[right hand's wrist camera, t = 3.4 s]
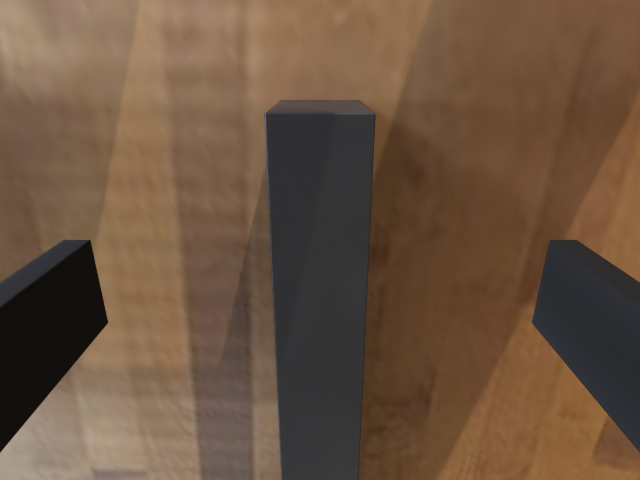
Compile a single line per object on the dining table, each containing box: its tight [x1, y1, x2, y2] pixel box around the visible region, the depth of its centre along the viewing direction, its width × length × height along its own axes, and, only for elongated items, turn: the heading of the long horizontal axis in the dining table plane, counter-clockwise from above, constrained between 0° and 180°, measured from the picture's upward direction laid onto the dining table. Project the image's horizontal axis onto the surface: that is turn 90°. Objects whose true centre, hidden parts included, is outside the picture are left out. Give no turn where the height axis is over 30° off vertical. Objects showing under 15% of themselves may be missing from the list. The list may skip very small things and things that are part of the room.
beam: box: [264, 100, 375, 480], centre depth 30 cm, size 36×5×8 cm, turn 0°
